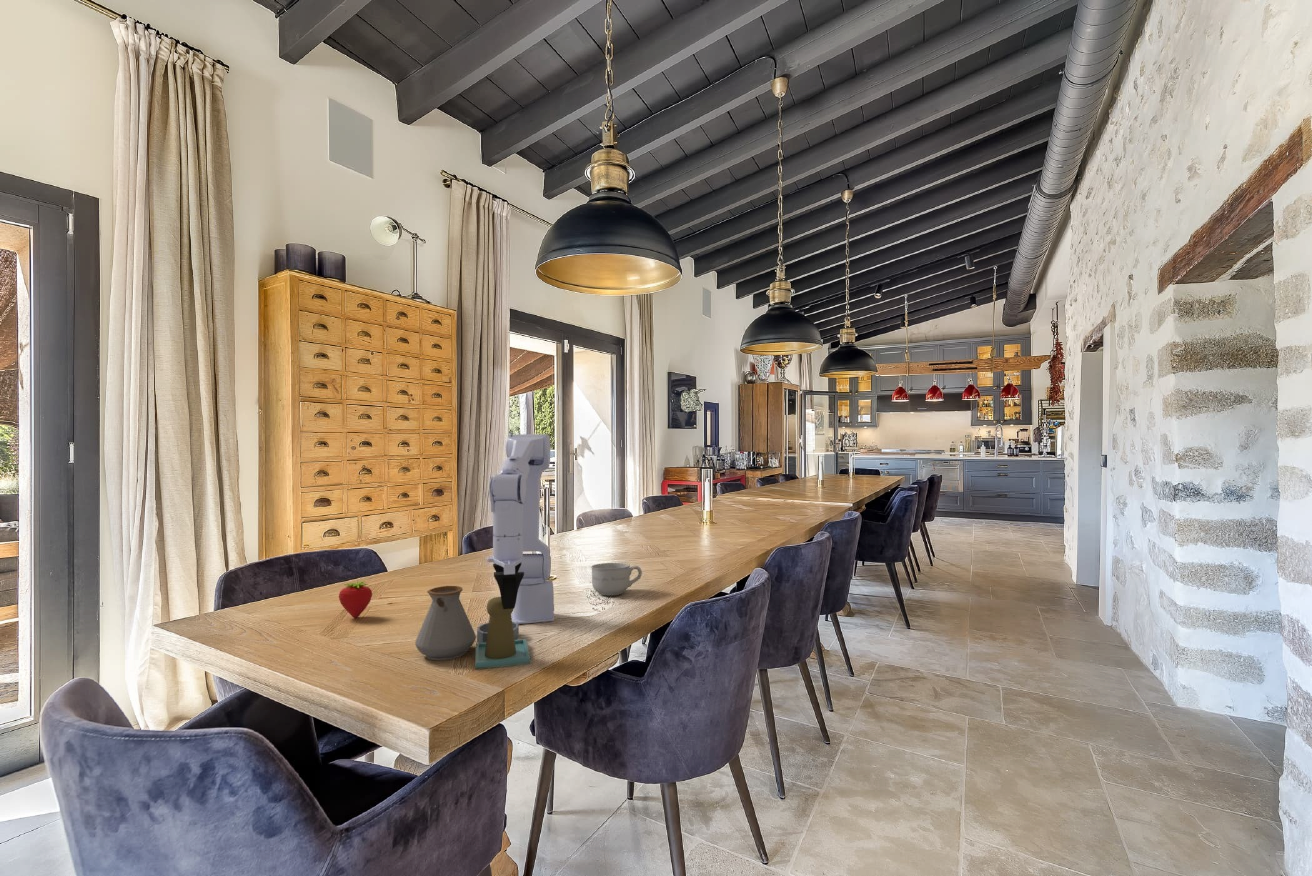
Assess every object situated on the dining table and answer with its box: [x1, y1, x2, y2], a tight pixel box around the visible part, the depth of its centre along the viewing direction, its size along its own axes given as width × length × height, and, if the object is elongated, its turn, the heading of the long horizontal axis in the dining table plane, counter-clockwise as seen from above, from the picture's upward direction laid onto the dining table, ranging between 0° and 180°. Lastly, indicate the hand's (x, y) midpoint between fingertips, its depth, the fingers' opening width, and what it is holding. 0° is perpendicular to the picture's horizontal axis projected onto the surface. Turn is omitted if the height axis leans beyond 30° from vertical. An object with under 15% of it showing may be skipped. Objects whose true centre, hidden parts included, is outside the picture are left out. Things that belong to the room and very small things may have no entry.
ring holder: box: [476, 622, 520, 643], centre depth 130 cm, size 9×9×2 cm
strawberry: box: [338, 581, 373, 619], centre depth 145 cm, size 6×8×10 cm
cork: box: [485, 596, 516, 659], centre depth 119 cm, size 6×6×11 cm
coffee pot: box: [415, 585, 477, 661], centre depth 116 cm, size 21×12×15 cm, turn 14°
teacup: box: [590, 562, 643, 596], centre depth 167 cm, size 14×11×8 cm
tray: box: [474, 638, 531, 670], centre depth 119 cm, size 10×11×1 cm
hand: (508, 603), depth 120 cm, fingers open, 7 cm apart
